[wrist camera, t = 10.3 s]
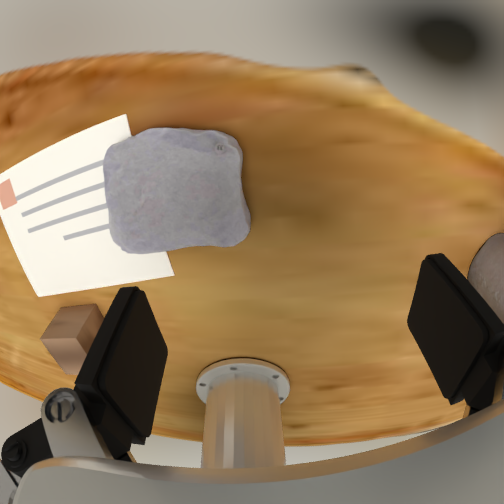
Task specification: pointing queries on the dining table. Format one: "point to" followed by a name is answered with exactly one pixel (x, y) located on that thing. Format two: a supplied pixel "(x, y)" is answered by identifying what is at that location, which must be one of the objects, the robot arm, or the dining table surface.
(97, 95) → the dining table surface
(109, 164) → the stone block
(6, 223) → the letter
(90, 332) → the walnut cube
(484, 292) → the pillar candle
